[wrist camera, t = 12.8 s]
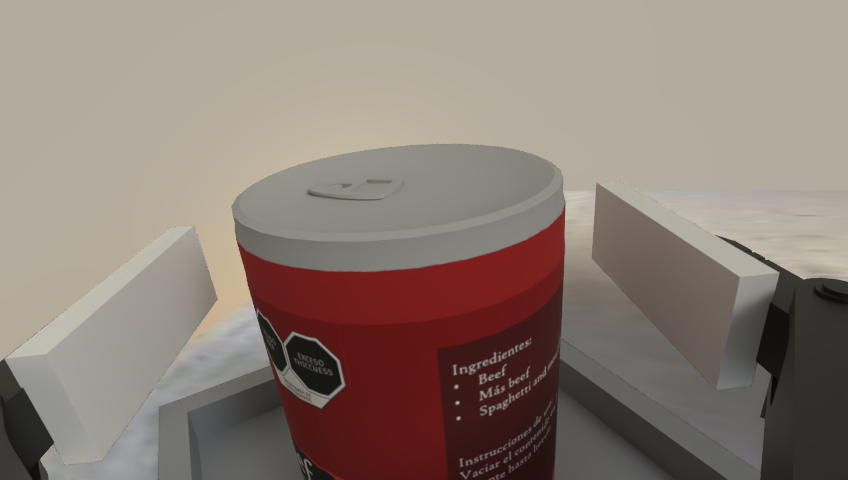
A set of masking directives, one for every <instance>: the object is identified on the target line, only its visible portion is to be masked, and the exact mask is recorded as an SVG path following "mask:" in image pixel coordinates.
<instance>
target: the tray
mask: <svg viewBox="0 0 848 480" xmlns="http://www.w3.org/2000/svg"><path fill="white" fill-rule="evenodd" d="M760 478H761V472H760V471H758V470H757V469H755V468H754V467H752V466H751V465H749V464H748V463H746V462H745V461H743V460H742V459H740V458H739V457H737V456H736V455H734V454H733V453H731V452H730V451H728V450H727V449H725V448H724V447H722V446H721V445H719V444H718V443H716V442H715V441H713V440H712V439H710V438H709V437H707V436H706V435H704V434H703V433H701V432H700V431H698V430H697V429H695V428H694V427H692V426H691V425H689V424H688V423H686V422H685V421H683V420H682V419H680V418H679V417H677V416H676V415H675V414H673V413H672V412H670V411H669V410H667V409H666V408H664V407H663V406H661V405H660V404H658V403H657V402H655V401H654V400H652V399H651V398H649V397H648V396H646V395H645V394H643V393H642V392H640V391H639V390H637V389H636V388H634V387H633V386H631V385H630V384H628V383H627V382H625V381H624V380H622V379H621V378H619V377H618V376H616V375H615V374H613V373H612V372H610V371H609V370H607V369H606V368H604V367H603V366H601V365H600V364H598V363H597V362H595V361H594V360H592V359H591V358H589V357H588V356H586V355H585V354H583V353H582V352H580V351H579V350H577V349H576V348H574V347H573V346H572V345H570V344H569V343H567V342H566V341H564V340H563V339H561V342H560V364H559V387H558V409H557V431H556V453H555V475H554V480H760ZM158 480H304V479H303V475H302V472H301V468H300V465H299V461H298V458H297V454H296V451H295V447H294V444H293V440H292V437H291V433H290V430H289V426H288V423H287V419H286V416H285V412H284V409H283V406H282V402H281V399H280V395H279V392H278V388H277V385H276V381H275V378H274V374H273V371H272V367H271V366H268V367H266V368H263V369H260V370H258V371H255V372H252V373H250V374H247V375H244V376H242V377H239V378H236V379H234V380H231V381H228V382H225V383H223V384H220V385H217V386H215V387H212V388H209V389H207V390H204V391H201V392H199V393H196V394H193V395H191V396H188V397H185V398H183V399H180V400H177V401H175V402H172V403H169V404H167V405H164V406H161V407H159V460H158Z"/></svg>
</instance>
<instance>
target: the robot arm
mask: <svg viewBox="0 0 848 480" xmlns="http://www.w3.org/2000/svg"><path fill="white" fill-rule="evenodd" d="M592 259H593V260H594V261H595V262H596V263H597V264H598V265H599V266H600V267H601V268H602V269H603V271H604V272H605V273H606V274H607V275H608V276H609V277H610V278H611V279H612V280H613V281H614V282H615V283H616V284H617V285H618V286H619V288H620V289H621V290H622V291H623V292H624V293H625V294H626V295H627V296H628V297H629V298H630V299H631V300H632V301H633V302H634V303H635V304H636V306H637V307H638V308H639V309H640V310H641V311H642V312H643V313H644V314H645V315H646V316H647V317H648V318H649V319H650V320H651V321H652V323H653V324H654V325H655V326H656V327H657V328H658V329H659V330H660V331H661V332H662V333H663V334H664V335H665V336H666V337H667V338H668V339H669V341H670V342H671V343H672V344H673V345H674V346H675V347H676V348H677V349H678V350H679V351H680V352H681V353H682V354H683V355H684V356H685V357H686V359H687V360H688V361H689V362H690V363H691V364H692V365H693V366H694V367H695V368H696V369H697V370H698V371H699V372H700V373H701V374H702V376H703V377H704V378H705V379H706V380H707V381H708V382H709V383H710V384H711V385H712V386H713V387H714V388H715V389H716V390H722V389H731V388H739V387H748V386H751V385H752V381H753V377H754V373H755V369H756V365H757V362H758V363H759V364H760V365H761V366H762V367H763V368H765V369H766V370H767V371H768V372H769V373H770V374H772V376H771V379H770V383H769V387H768V390H767V394H766V398H765V402H764V405H763V409H762V413H761V416H760V417H761V418H764V419H765V429H764V441H763V453H762V465H761V478H760V480H848V282H846V281H842V280H837V279H827V278H809V279H805V280H803V279H802V278H800V277H798V276H796V275H794V274H793V273H791V272H789V271H787V270H786V269H784V268H782V267H780V266H778V265H777V264H775V263H773V262H771V261H770V260H765V258H764V257H762V256H761V255H759V254H757V253H755V252H753V253H752V250H750V249H748V248H746V247H745V246H743V245H741V244H739V243H738V242H736V241H732V240H729V239H726V238H723V237H720V236H717V235H714V234H712V233H710V232H708V231H707V230H705V229H703V228H702V227H700V226H698V225H696V224H695V223H693V222H691V221H689V220H688V219H686V218H684V217H683V216H681V215H679V214H677V213H676V212H674V211H672V210H671V209H669V208H667V207H665V206H664V205H662V204H660V203H658V202H657V201H655V200H653V199H652V198H650V197H648V196H646V195H645V194H643V193H641V192H639V191H638V190H636V189H634V188H632V187H631V186H629V185H627V184H626V183H624V182H622V181H620V180H615V181H606V182H597V184H596V200H595V216H594V231H593V247H592ZM216 301H217V296H216V293H215V289H214V286H213V283H212V280H211V277H210V274H209V270H208V267H207V264H206V261H205V258H204V255H203V252H202V249H201V245H200V242H199V239H198V236H197V233H196V230H195V227H194V225H192V226H183V227H173V228H170V229H168V230H167V231H166V232H164V233H163V234H162V235H161V236H159V237H158V238H157V239H156V240H154V241H153V242H152V243H151V244H149V245H148V246H147V247H145V248H144V249H143V250H142V251H140V252H139V253H138V254H137V255H135V256H134V257H133V258H131V259H130V260H129V261H128V262H127V263H125V264H124V265H123V266H121V267H120V268H119V269H118V270H116V271H115V272H114V273H112V274H111V275H110V276H109V277H107V278H106V279H105V280H104V281H102V282H101V283H100V284H98V285H97V286H96V287H95V288H94V289H92V290H91V291H90V292H88V293H87V294H86V295H85V296H83V297H82V298H81V299H80V300H78V301H77V302H76V303H75V304H73V305H72V306H71V307H69V308H68V309H67V310H66V311H65V312H63V313H62V314H60V315H59V316H58V317H56V318H55V319H54V320H53V321H51V322H50V323H49V324H47V325H46V326H45V327H44V328H42V329H41V330H40V331H39V332H38V333H36V334H35V335H33V336H32V337H31V338H30V339H28V340H27V341H26V342H25V343H24V344H22V345H21V346H20V347H18V348H17V349H16V350H15V351H13V352H12V353H11V354H9V355H8V356H7V357H6V358H4V359H3V360H2V361H1V362H0V480H48V474H47V472H46V470H45V468H44V467H43V465H42V463H41V462H40V458H41V457H42V456H43V455H44V454H45V453H46V452H47V450H48V449H49V448H50V447H51V446H52V445H54V447H55V448H56V450H57V452H58V454H59V455H60V457H61V459H62V461H63V462H64V464H65V465H71V464H80V463H89V462H98V461H102V460H103V459H104V457H105V456H106V455H107V453H108V452H109V450H110V449H111V448H112V446H113V445H114V443H115V442H116V441H117V439H118V438H119V436H120V435H121V434H122V432H123V431H124V429H125V428H126V427H127V425H128V424H129V422H130V421H131V420H132V418H133V417H134V415H135V414H136V413H137V411H138V410H139V408H140V407H141V406H142V404H143V403H144V401H145V400H146V399H147V397H148V396H149V394H150V393H151V392H152V390H153V389H154V387H155V386H156V385H157V383H158V382H159V380H160V379H161V378H162V376H163V375H164V373H165V372H166V371H167V369H168V368H169V366H170V365H171V364H172V362H173V361H174V359H175V358H176V357H177V355H178V354H179V352H180V351H181V350H182V348H183V347H184V345H185V344H186V343H187V341H188V340H189V338H190V337H191V336H192V334H193V333H194V331H195V330H196V329H197V327H198V326H199V324H200V323H201V321H202V320H203V319H204V317H205V316H206V315H207V313H208V312H209V310H210V309H211V307H212V306H213V305H214V303H215V302H216Z"/></svg>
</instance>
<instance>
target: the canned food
mask: <svg viewBox="0 0 848 480" xmlns="http://www.w3.org/2000/svg"><path fill="white" fill-rule="evenodd" d="M565 203H566V202H565V198H564V194H563V176H562V173H561V170H560V169H559V168H557V167H556V166H555V165H554V164H553V163H552V162H549V161H547V160H545V159H543V158H541V157H538V156H536V155H533V154H530V153H526V152H523V151H519V150H515V149H508V148H503V147H496V146H485V145H469V144H430V145H410V146H399V147H388V148H380V149H372V150H365V151H359V152H353V153H347V154H342V155H337V156H332V157H327V158H323V159H319V160H315V161H311V162H307V163H303V164H300V165H297V166H294V167H291V168H288V169H285V170H282V171H280V172H278V173H275V174H273V175H271V176H268V177H266V178H264V179H262V180H260V181H259V182H257V183H255V184H253V185H252V186H250V187H249V188H247V189H246V190H245V191H244V192H242V193H241V194H240V195H239V196H238V197H237V198H236V200H235V201H234V203H233V205H232V211H233V217H234V221H235V233H236V240H237V244H238V247H239V250H240V254H241V258H242V261H243V265H244V269H245V272H246V277H247V282H248V287H249V290H250V294H251V297H252V301H253V304H254V308H255V311H256V315H257V318H258V322H259V325H260V329H261V332H262V336H263V339H264V343H265V346H266V350H267V353H268V357H269V360H270V364H271V367H272V371H273V374H274V378H275V381H276V385H277V388H278V392H279V395H280V399H281V402H282V406H283V409H284V412H285V416H286V419H287V423H288V426H289V430H290V433H291V437H292V440H293V444H294V447H295V451H296V454H297V458H298V461H299V465H300V468H301V472H302V475H303V479H304V480H554V475H555V453H556V431H557V409H558V387H559V364H560V342H561V320H562V298H563V276H564V254H565V239H564V229H565Z"/></svg>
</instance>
